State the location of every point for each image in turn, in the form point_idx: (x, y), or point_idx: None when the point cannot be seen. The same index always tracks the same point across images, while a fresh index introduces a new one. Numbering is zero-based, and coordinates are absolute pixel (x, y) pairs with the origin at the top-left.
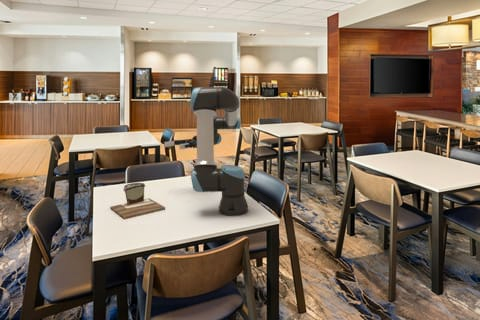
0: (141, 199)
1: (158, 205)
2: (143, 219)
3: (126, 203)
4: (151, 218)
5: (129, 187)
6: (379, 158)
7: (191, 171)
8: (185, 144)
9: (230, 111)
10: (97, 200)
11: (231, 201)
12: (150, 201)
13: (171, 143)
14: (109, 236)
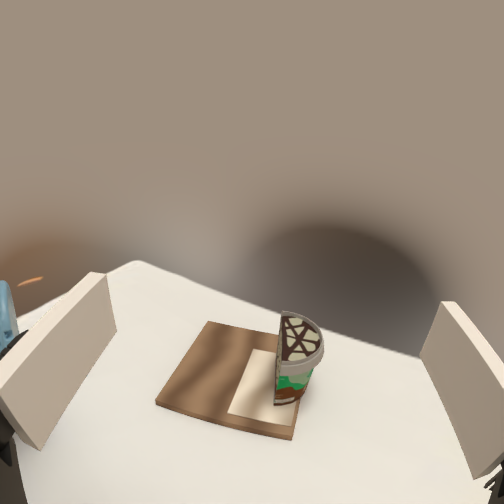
0: (275, 392)
1: (189, 403)
2: (162, 339)
3: None
4: (147, 348)
5: (292, 328)
6: None
7: (4, 281)
8: (36, 336)
9: None
10: (404, 355)
11: None
12: (249, 414)
13: (476, 402)
14: (165, 283)
